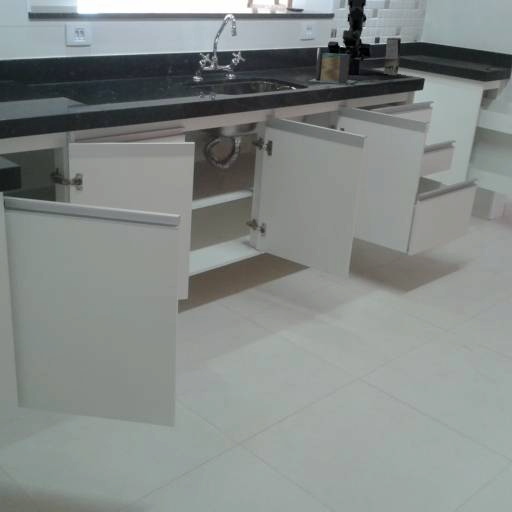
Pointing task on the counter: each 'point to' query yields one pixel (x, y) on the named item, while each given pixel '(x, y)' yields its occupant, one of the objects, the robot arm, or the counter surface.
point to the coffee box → (392, 56)
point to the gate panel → (331, 66)
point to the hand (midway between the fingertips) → (345, 64)
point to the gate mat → (332, 81)
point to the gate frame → (342, 70)
